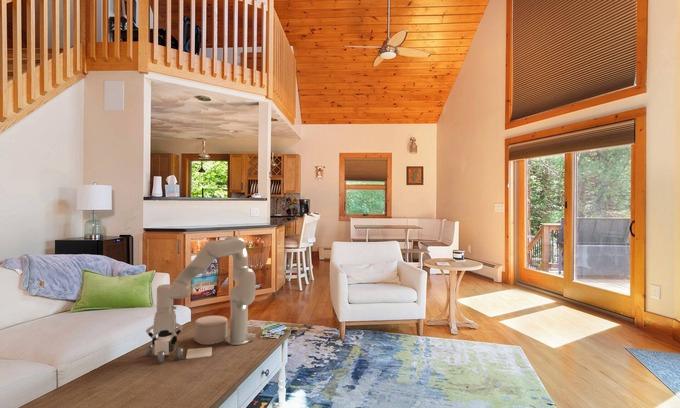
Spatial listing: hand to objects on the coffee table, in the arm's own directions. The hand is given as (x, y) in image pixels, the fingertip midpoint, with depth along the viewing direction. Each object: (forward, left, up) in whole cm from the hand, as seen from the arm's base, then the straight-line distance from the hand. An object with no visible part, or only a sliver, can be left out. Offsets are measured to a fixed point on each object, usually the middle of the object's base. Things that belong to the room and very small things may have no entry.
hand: (164, 344), depth 181 cm
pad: (-16, -1, -6) cm, 18 cm away
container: (-21, -21, -7) cm, 31 cm away
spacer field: (+1, 0, -6) cm, 6 cm away
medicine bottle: (0, 0, -4) cm, 4 cm away
